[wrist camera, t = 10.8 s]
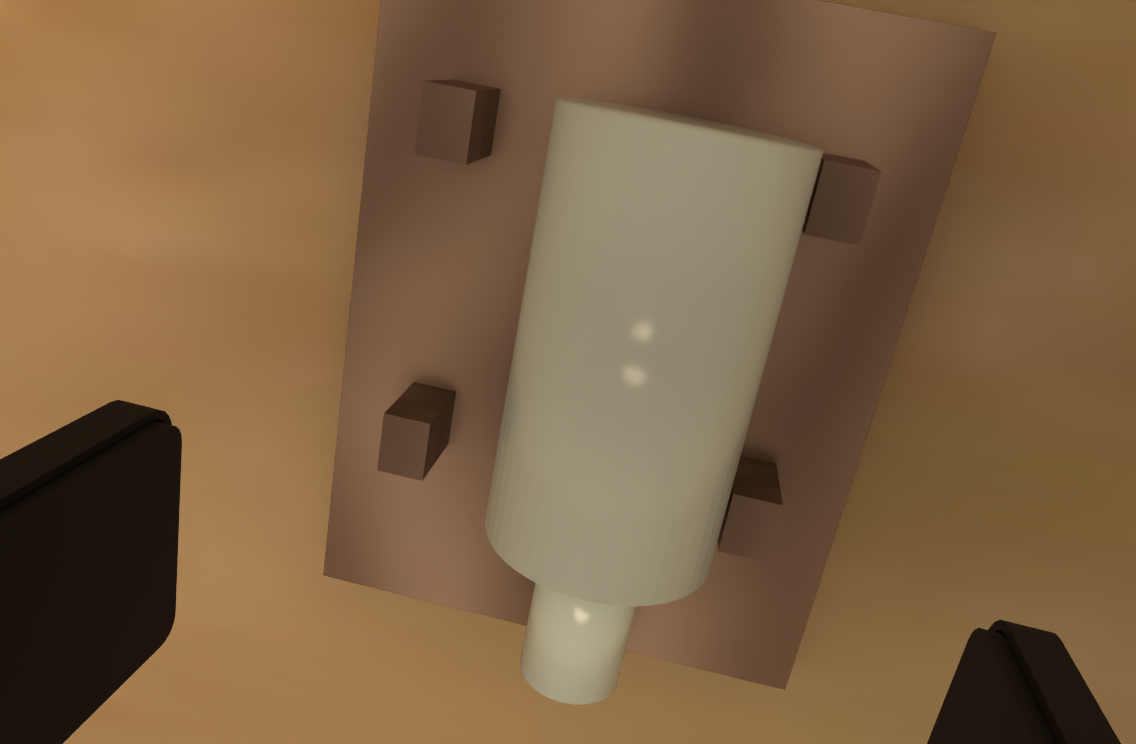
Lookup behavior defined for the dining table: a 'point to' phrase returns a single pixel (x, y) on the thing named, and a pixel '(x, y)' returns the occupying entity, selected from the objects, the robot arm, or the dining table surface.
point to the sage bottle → (636, 369)
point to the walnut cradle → (501, 255)
